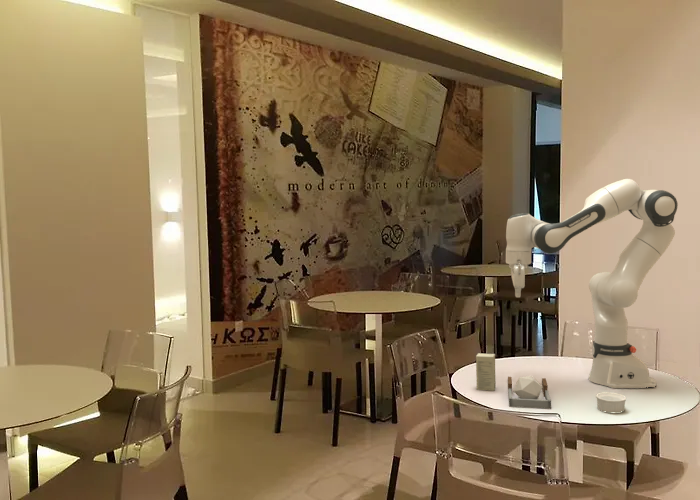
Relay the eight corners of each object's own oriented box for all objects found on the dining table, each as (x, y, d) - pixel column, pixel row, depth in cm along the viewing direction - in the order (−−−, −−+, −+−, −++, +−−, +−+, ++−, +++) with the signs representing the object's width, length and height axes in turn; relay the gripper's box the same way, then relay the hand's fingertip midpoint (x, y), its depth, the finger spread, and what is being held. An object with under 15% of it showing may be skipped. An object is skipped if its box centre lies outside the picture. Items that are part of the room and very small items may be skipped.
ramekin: (594, 412, 210) (595, 398, 210) (596, 403, 218) (597, 390, 218) (625, 415, 206) (625, 402, 206) (626, 407, 215) (626, 393, 214)
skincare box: (495, 387, 236) (496, 353, 235) (494, 391, 232) (494, 356, 230) (477, 386, 238) (477, 352, 237) (475, 389, 234) (475, 355, 233)
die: (541, 407, 217) (549, 380, 220) (520, 396, 215) (528, 368, 219) (527, 408, 224) (535, 382, 228) (506, 397, 223) (514, 371, 226)
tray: (547, 397, 224) (548, 390, 224) (551, 408, 213) (551, 401, 213) (508, 395, 227) (508, 388, 227) (509, 406, 216) (509, 398, 216)
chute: (545, 389, 233) (545, 378, 233) (547, 397, 225) (547, 385, 224) (507, 387, 236) (507, 376, 235) (508, 395, 227) (508, 383, 227)
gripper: (529, 262, 228) (528, 302, 229) (525, 255, 248) (525, 292, 249) (510, 261, 229) (509, 301, 231) (508, 255, 249) (508, 292, 251)
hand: (517, 296), depth 240 cm, fingers closed
